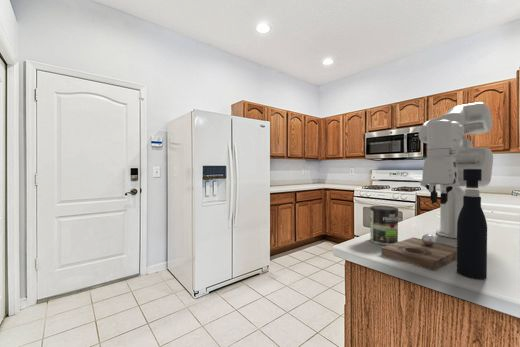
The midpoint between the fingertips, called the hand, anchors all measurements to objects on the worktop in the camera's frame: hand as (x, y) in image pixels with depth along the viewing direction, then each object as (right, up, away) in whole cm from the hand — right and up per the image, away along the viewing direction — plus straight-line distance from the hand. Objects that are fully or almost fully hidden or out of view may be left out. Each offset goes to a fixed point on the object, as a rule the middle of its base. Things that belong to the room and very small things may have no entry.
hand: (438, 202), depth 90 cm
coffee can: (-16, -17, +9) cm, 25 cm away
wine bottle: (-7, -18, -22) cm, 29 cm away
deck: (-11, -17, -7) cm, 22 cm away
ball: (-7, -13, -4) cm, 15 cm away
